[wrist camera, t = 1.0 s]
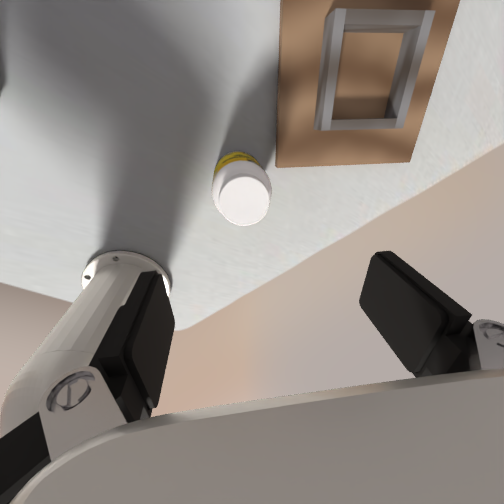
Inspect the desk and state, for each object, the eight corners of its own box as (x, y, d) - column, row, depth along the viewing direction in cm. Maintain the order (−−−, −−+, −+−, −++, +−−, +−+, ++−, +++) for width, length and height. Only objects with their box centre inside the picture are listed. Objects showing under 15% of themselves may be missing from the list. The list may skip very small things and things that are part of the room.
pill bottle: (265, 155, 30) (287, 174, 20) (255, 202, 32) (269, 237, 23) (217, 145, 28) (215, 160, 19) (210, 194, 31) (206, 228, 22)
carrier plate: (403, 160, 32) (423, 165, 29) (275, 166, 30) (281, 172, 27) (461, -34, 23) (500, -58, 20) (281, -42, 21) (292, -69, 18)
